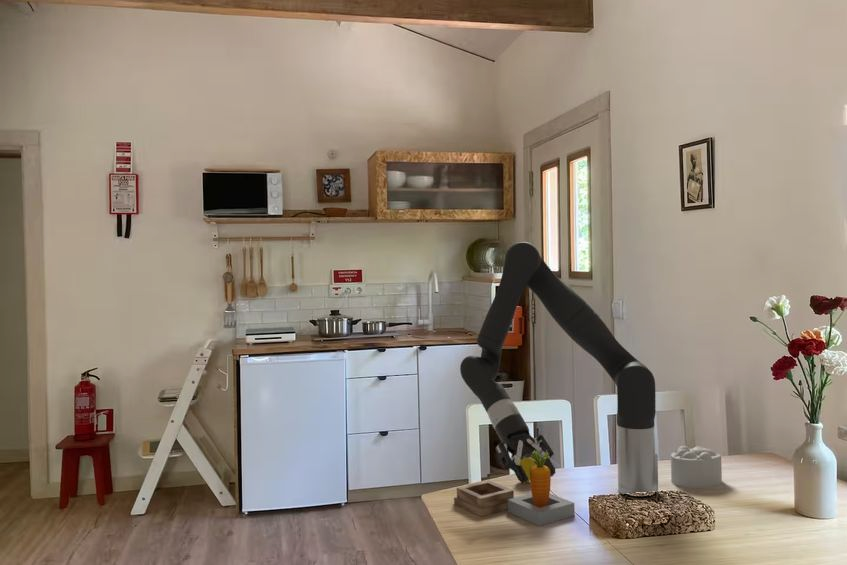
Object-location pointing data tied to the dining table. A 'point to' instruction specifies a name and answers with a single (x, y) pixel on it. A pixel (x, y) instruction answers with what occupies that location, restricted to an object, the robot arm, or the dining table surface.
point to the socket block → (541, 509)
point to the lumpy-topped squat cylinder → (695, 467)
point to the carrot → (540, 480)
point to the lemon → (527, 465)
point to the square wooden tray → (483, 497)
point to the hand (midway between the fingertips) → (539, 478)
